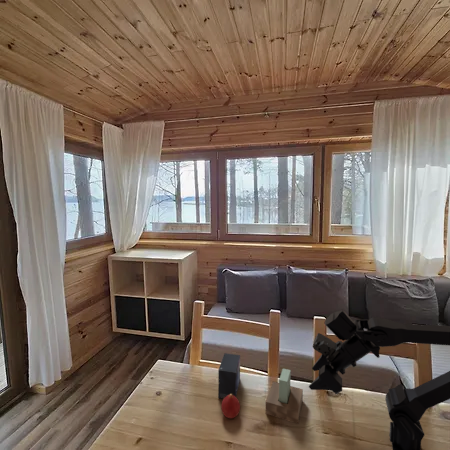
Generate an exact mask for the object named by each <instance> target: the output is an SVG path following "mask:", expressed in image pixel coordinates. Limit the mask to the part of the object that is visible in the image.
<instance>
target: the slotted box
mask: <svg viewBox="0 0 450 450" xmlns="http://www.w3.org/2000/svg"><path fill="white" fill-rule="evenodd" d="M303 392H304V389H303V388H299V387H295V386H292V385H290V397H289V401H288V404H286V403H282V402H279V382H276V381H272V383H271V385H270V389H269V391H268V394H267V396H266V399H265V414H266V415H270V416H272V417H275V418H279V419H282V420H286V421H287V422H288V421H289V422H290V423H294V424H297V425H298V424H299V420H300V415H301V410H302V406H303V396H304V394H303Z"/></svg>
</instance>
